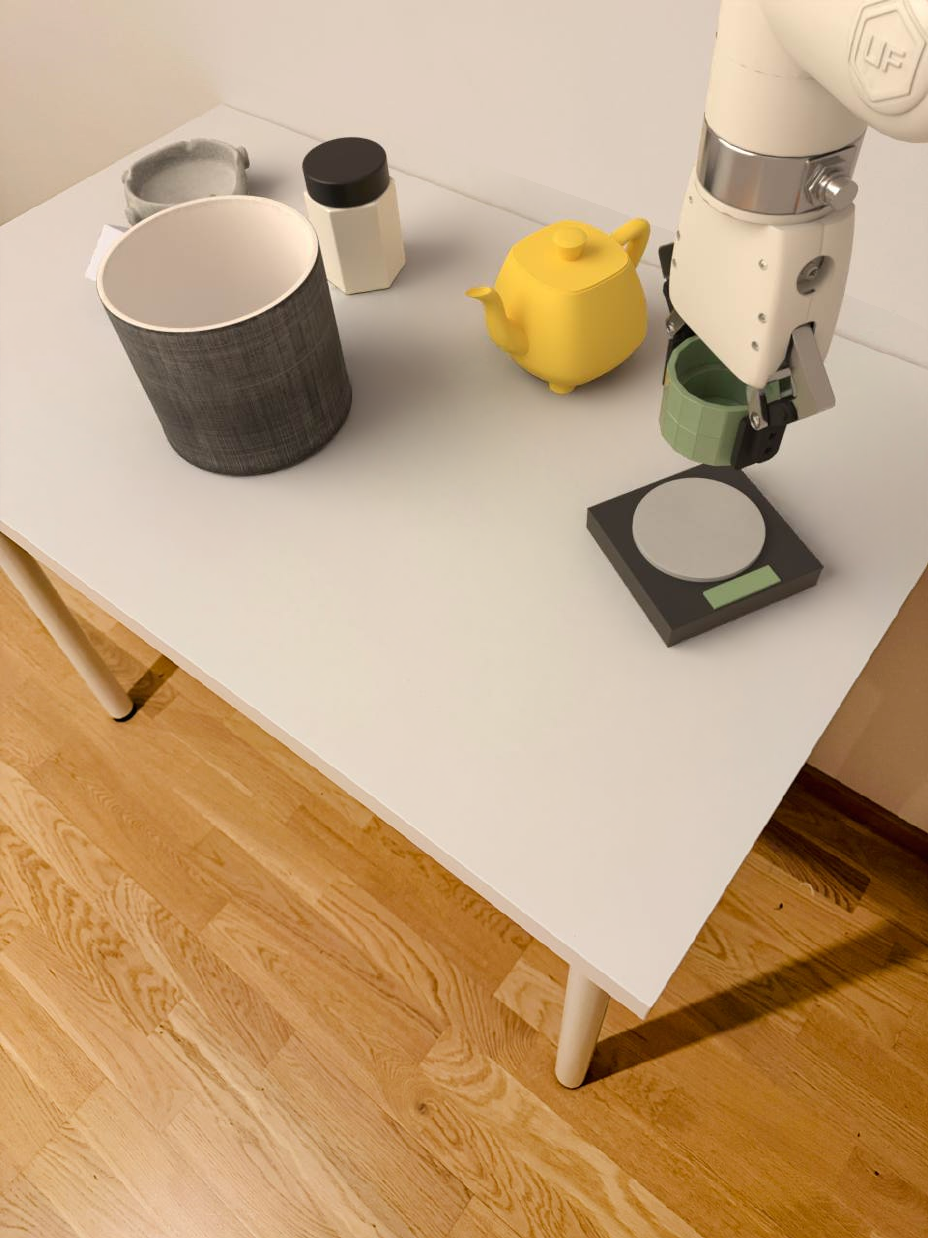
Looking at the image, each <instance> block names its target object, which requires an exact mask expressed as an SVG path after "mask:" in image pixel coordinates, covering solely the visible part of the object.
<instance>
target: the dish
mask: <svg viewBox="0 0 928 1238" xmlns="http://www.w3.org/2000/svg"><path fill="white" fill-rule="evenodd" d="M250 166H251V162H250V158H249V154H248V152H247V149H246V147H244V146H242V145H240V146H237V148H236V147H235V146H233V145H232V144H230V143H227V142H225V141H222V140H218V139H213V138H209V139H208V138H203V137H201V138H199V137H198V138H192V139H189V140H180V141H176V142H172V143H170V144H167V145H165V146H162V147H160V148H159V149H157V150H155V151H152V152H150V153H148V154H146V155H144V156H142V157H141V158H139V159H138V160H136V161H134V162H133V163H132V164H131V165H130V166H129V167H128V169H126V170H124V172H122V174H121V182H122V184H123V189H124V195H125V201H126V204H127V205H126V207H125V209H124V213H125V218H126V220H127V222H128V223H129V225H130V226H131V228H132V227H133V226H134V225H136V224H137V223H139V222H141V221H142V220H144V219H146V218H148V217H149V216H151V215H153V214H155V213H158V212H160V211H162V210H164V209H167V208H170V207H172V206H175V205H178V204H181V203H185V202H188V201H192V200H197V199H202V198H207V197H214V196H226V195H246V196H249V185H248V175H247V171H246V170H247V169H248V170H249V169H250Z"/></svg>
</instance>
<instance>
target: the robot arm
mask: <svg viewBox="0 0 928 1238" xmlns="http://www.w3.org/2000/svg"><path fill="white" fill-rule="evenodd" d="M709 73H710V74H709V80H708V86H707V94H706V100H705V107H704V113H703V117H702V118H703V119H702V126H701V131H700V139H699V144H698V145H699V146H698V151H697V152H698V153H697V157H696V160H695V163H694V166H693V168H692V172H691V174H690V178H689V181H688V184H687V188H686V191H685V193H684V198H683V202H682V207H681V209H680V215H679V218H678V223H677V228H676V232H675V238H674V241H671V242H669V243H665V244H662V245H660V246H659V247H658V250H657V252H658V259H659V263H660V268H661V272H662V278H663V280H665V281H664V282H663V286H662V294H663V296H664V298H665V301H666V305H667V309H668V312H669V315H667V316H666V318H665V321H664V325H665V330H666V332H667V334H668V335H669V336H670V337H671V338H669V339H668V341H667V349H666V356H665V362H664V369H663V374H662V375H663V377H662V386H663V387H664V383H665V377H666V370H667V364H668V362H669V359H670V357H671V354H672V352H673V350H674V349H675V348H676V347H678V346H679V345H680V344H681V343H682V342H683V341H685V340H686V339H687V338H690V337H692V336H695V335H698V337H699V338H700V339H701V340H702V341H703V342H704V343H705V344H706V345H707V346H708V347H709V348H710V349H711V351H712V352H713V353H714V354H715V355H716V356H717V357H718V358H719V359H720V360H721V361H722V362H723V363H724V364H725V365H726V366H727V367H728V368H729V369H730V370H731V372H732V373H733V374H735V375H736V376H737V377H738V378H739V379H740V380H741V381H743V382H744V383H745V388H746V396H747V405H748V413H749V415H748V416H746V417H744V418H742V419H741V420H740V422H739V426H738V430H737V434H736V438H735V443H734V447H733V451H732V455H731V459H730V461H731V462H730V464H731V466H732V467H733V468H734V469H735V470H740V469H741V470H743V469H746V468H748V467H750V466H753V465H755V464H763V463H765V462H768V461H770V460H771V459H773V458H774V457H775V456H776V455H777V454H778V453H779V451H780V448H781V445H782V441H783V438H784V435H785V431H786V430H787V429H786V428H787V425H790V424H792V423H795V422H798V421H801V420H804V419H807V418H810V417H812V416H815V415H818V414H820V413H823V412H825V411H828V410H830V409H833V408H834V407H835V405H836V396H835V393H834V390H833V387H832V385H831V384H832V383H831V382H830V379H829V375H828V373H827V370H826V367H825V364H824V363H825V361H826V358H827V356H828V353H829V350H830V348H831V344H832V342H833V338H834V336H835V335H834V334H835V331H836V327H837V323H838V320H839V316H840V312H841V308H842V305H843V304H842V303H843V301H844V295H845V291H846V287H847V286H846V285H847V281H848V276H849V271H850V267H851V265H850V264H851V258H852V252H853V244H854V237H855V236H854V234H855V219H856V204H855V203H854V202H853V201H854V200H855V199H856V197H857V195H858V192H859V185H858V184H857V182H855V181H854V180H853V176H854V173H855V171H856V167H857V163H858V160H859V156H860V153H861V149H862V146H863V143H864V140H865V137H866V133H867V130H868V127H870V128H872V129H873V130H874V131H876V132H878V133H879V134H881V135H884V136H886V137H889V138H891V139H893V140H896V141H900V142H906V143H909V144H910V143H911V144H928V0H720V7H719V13H718V20H717V25H716V32H715V39H714V46H713V51H712V59H711V66H710V72H709ZM777 380H779V389H780V399H778V400H775V401H772V402H770V403H767V397H766V388H765V386H766V385H767V384H770V383H772V382H775V381H777Z"/></svg>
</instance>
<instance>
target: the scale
mask: <svg viewBox="0 0 928 1238" xmlns="http://www.w3.org/2000/svg"><path fill="white" fill-rule="evenodd" d="M585 524H586V525H585V527H586V529H587V530H588V532H589V533H590V535H591V536H592V538H593V539H594V541H595V543H596V544H597V545H598V546H599V547H598V548H600V550H601V552H603V554H604V556H605V557H606V558H607V560H608V562H609V563H610V564H611V566H612V567H613V569H614V571H615V572H616V574H617V575H618V576H619V578H620V579H621V580H622V582H623V584H624V586H625V587H626V588H627V590H628V591H629V593H630V594H631V596H632V597H633V598H634V600H635V602H636V603H637V604H638V606H639V607H640V609H641V611H643V613H644V615H645V616H646V617H647V619H648V621H649V622H650V623H651V625H652V626H653V629H655V631H656V632H657V634H658V636H659V637H660V638H661V640H662V641H663V643H664V644H665V646H666V647H667V648H670V647H672V646H675V645H678V644H680V643H682V642H685V641H687V640H689V639H691V638H694V637H696V636H699V635H701V634H704V633H706V632H709V631H711V630H713V629H715V628H718V627H720V626H723V625H725V624H728V623H730V622H732V621H734V620H737V619H739V618H741V617H744V616H746V615H748V614H751V613H753V612H755V611H758V610H760V609H763V608H765V607H768V606H770V605H773V604H775V603H777V602H779V601H781V600H784V599H787V598H788V597H791V596H793V595H796V594H799V593H801V592H803V591H805V590H808V589H810V588H813V587H815V586H817V583H818V581H819V579H820V576H821V575H822V572H823V569H824V567H825V565H823V563H822V562H821V561H820V560H819V559H818V557H817V556H816V555H815V553H813V552H812V551H811V549H810V548H809V546H807V545H806V543H805V542H804V541H803V540H802V539H801V538H800V536H799V535H798V534H797V533H796V531H795V530H794V529H793V528H792V527H791V526H790V525H789V523H788V522H787V521H786V520H785V518H783V516H782V515H781V514H780V513H779V512H778V511H777V509H776V508H775V507H774V506H773V505H772V504H771V502H770V501H769V500H768V499H767V497H765V495H764V494H763V493H762V492H761V491H760V489H759V488H758V487H757V486H756V485H755V483H754V482H753V481H752V480H751V479H750V477H748V475H747V474H746V473H745V472H744V470H743V469H740V470H735V469H734V468H733V467H732V466H731V465H727V466H712V465H707V464H703V463H700V464H698V465H695V466H692V467H690V468H688V469H684V470H681V471H680V472H677V473H675V474H672V475H669V476H666V477H663V478H662V479H659V480H656V481H654V482H651V483H649V484H646V485H644V486H641V487H638V488H635V489H633V490H631V491H627V492H625V493H623V494H620V495H617V496H615V497H612V498H610V499H607V500H604V501H602V502H600V503H597V504H594V505H591V506H589V507H587V510H586V523H585Z"/></svg>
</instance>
